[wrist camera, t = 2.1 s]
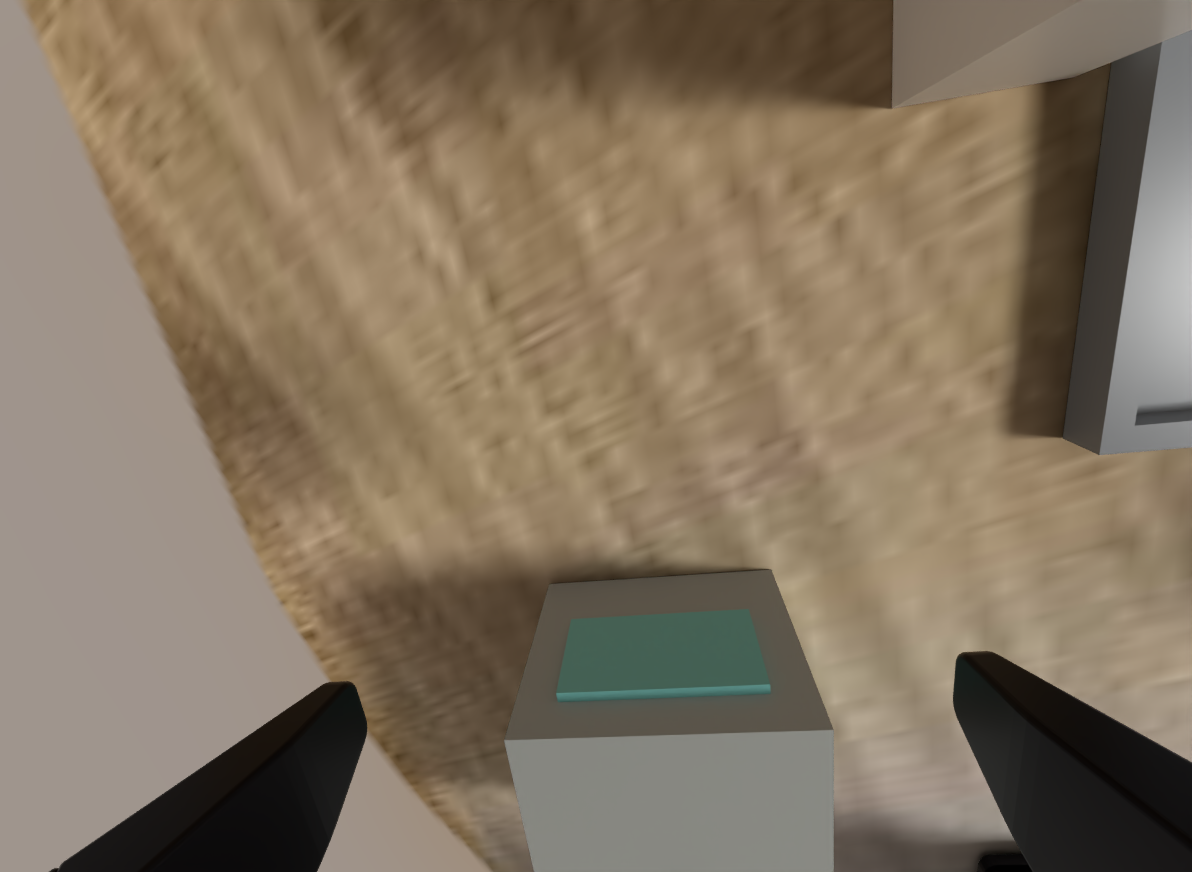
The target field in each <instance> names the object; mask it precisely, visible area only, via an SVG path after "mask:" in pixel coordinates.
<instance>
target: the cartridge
mask: <svg viewBox="0 0 1192 872" xmlns="http://www.w3.org/2000/svg"><path fill="white" fill-rule="evenodd" d="M1190 30H1192V0H893V65H892V108H898V107H904V106H910V105H916V104H921V103H927V102H933V101H939V100H945V99H951V98H956V97H962V96H968V95H974V94H980V93H986V92H991V91H997V90H1003V89H1009V88H1015V87H1021V86H1026V85H1032V84H1038V83H1044V82H1050V81H1056V80H1062V79H1067V78H1073V77H1076V76H1078V75H1081V74H1083V73H1086V72H1088V71H1091V70H1093V69H1096V68H1098V67H1101V66H1103V65H1106V64H1108V63H1111V62H1113V61H1116V60H1118V59H1121V58H1123V57H1126V56H1128V55H1131V54H1133V53H1136V52H1138V51H1141V50H1143V49H1146V48H1148V47H1150V46H1153V45H1155V44H1158V43H1160V42H1163V41H1165V40H1168V39H1170V38H1173V37H1175V36H1178V35H1180V34H1183V33H1185V32H1188V31H1190Z"/></svg>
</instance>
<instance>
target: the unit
mask: <svg viewBox="0 0 1192 872" xmlns="http://www.w3.org/2000/svg"><path fill="white" fill-rule="evenodd" d="M504 742H505V747H506V751H507V756H508V760H509V764H510V769H511V773H512V778H513V782H514V786H515V791H516V795H517V800H518V804H519V808H520V813H521V817H522V822H523V826H524V830H525V835H526V839H527V844H528V848H529V852H530V857H531V861H532V866H533V870H534V872H834V730H833V727H832V725H831V722H830V719H829V717H828V714H827V712H826V709H825V707H824V704H823V701H822V699H821V696H820V694H819V691H818V689H817V686H816V683H815V681H814V678H813V676H812V673H811V671H810V668H809V665H808V663H807V660H806V658H805V655H804V653H803V650H802V647H801V645H800V642H799V640H798V637H797V635H796V632H795V629H794V627H793V624H792V622H791V619H790V617H789V614H788V611H787V609H786V606H785V604H784V601H783V599H782V596H781V593H780V591H779V588H778V586H777V583H776V581H775V578H774V575H773V573H772V570H758V571H742V572H727V573H712V574H696V575H681V576H666V577H650V578H635V579H620V580H604V581H589V582H574V583H558V584H549V587H548V590H547V594H546V597H545V601H544V604H543V608H542V611H541V615H540V618H539V622H538V625H537V628H536V632H535V635H534V639H533V642H532V646H531V649H530V653H529V656H528V659H527V663H526V666H525V670H524V673H523V677H522V680H521V684H520V687H519V690H518V694H517V697H516V701H515V704H514V708H513V711H512V715H511V718H510V721H509V725H508V728H507V732H506V735H505V739H504Z"/></svg>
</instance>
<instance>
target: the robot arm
mask: <svg viewBox="0 0 1192 872" xmlns="http://www.w3.org/2000/svg"><path fill="white" fill-rule="evenodd" d="M953 705H954V710H955V713H956V716H957V719H958V721H959V723H960V725H961V728H962V730H963V732H964V734H965V736H966V738H967V740H968V743H969V745H970V747H971V749H972V751H973V753H974V756H975V758H976V760H977V762H978V764H979V766H980V768H981V771H982V773H983V775H984V777H985V779H986V781H987V784H988V786H989V788H990V790H991V792H992V794H993V796H994V799H995V801H996V803H997V805H998V807H999V809H1000V812H1001V814H1002V816H1003V818H1004V820H1005V822H1006V824H1007V826H1008V828H1009V830H1010V832H1011V834H1012V836H1013V838H1014V840H1015V841H1016V843H1017V845H1018V847H1019V849H1020V850H1021V852H1022V854H1007V855H987V856H985V857H983V858H981V859H980V861H979V863H978V871H977V872H1192V762H1190V761H1188V760H1187V759H1185V758H1183V757H1181V756H1179V755H1178V754H1176V753H1174V752H1172V751H1170V750H1169V749H1167V748H1165V747H1163V746H1161V745H1160V744H1158V743H1156V742H1154V741H1152V740H1151V739H1149V738H1147V737H1145V736H1143V735H1142V734H1140V733H1138V732H1136V731H1134V730H1133V729H1131V728H1129V727H1127V726H1125V725H1124V724H1122V723H1120V722H1118V721H1116V720H1115V719H1113V718H1111V717H1109V716H1107V715H1106V714H1104V713H1102V712H1100V711H1098V710H1097V709H1095V708H1093V707H1091V706H1089V705H1088V704H1086V703H1084V702H1082V701H1080V700H1079V699H1077V698H1075V697H1073V696H1071V695H1070V694H1068V693H1066V692H1064V691H1062V690H1061V689H1059V688H1057V687H1055V686H1053V685H1052V684H1050V683H1048V682H1046V681H1044V680H1043V679H1041V678H1039V677H1037V676H1035V675H1034V674H1032V673H1030V672H1028V671H1026V670H1025V669H1023V668H1021V667H1019V666H1017V665H1016V664H1014V663H1012V662H1010V661H1008V660H1007V659H1005V658H1003V657H1001V656H999V655H998V654H995V653H993V652H990V651H979V652H963V653H961V654H959V655H958V657H957V659H956V666H955V679H954V692H953ZM366 735H367V720H366V717H365V714H364V711H363V708H362V704H361V701H360V698H359V695H358V692H357V689H356V687H355V685H354V684H353V683H352V682H349V681H343V682H328V683H325V684H323V685H322V686H320V687H319V688H317V689H316V690H314V691H313V692H311V693H310V694H309V695H307V696H305V697H304V698H303V699H301V700H300V701H298V702H297V703H295V704H294V705H292V706H291V707H289V708H288V709H286V710H285V711H283V712H282V713H281V714H279V715H278V716H276V717H275V718H273V719H272V720H270V721H269V722H267V723H266V724H264V725H263V726H262V727H260V728H259V729H257V730H256V731H254V732H253V733H251V734H250V735H248V736H247V737H245V738H244V739H243V740H241V741H240V742H238V743H237V744H235V745H234V746H232V747H231V748H229V749H228V750H226V751H225V752H224V753H222V754H221V755H219V756H218V757H216V758H215V759H213V760H212V761H210V762H209V763H207V764H206V765H205V766H203V767H202V768H200V769H199V770H197V771H196V772H194V773H193V774H191V775H190V776H188V777H187V778H186V779H184V780H183V781H181V782H180V783H178V784H177V785H175V786H174V787H172V788H171V789H169V790H168V791H167V792H165V793H164V794H162V795H161V796H159V797H158V798H156V799H155V800H154V801H152V802H151V803H149V804H148V805H146V806H145V807H143V808H142V809H140V810H139V811H137V812H136V813H134V814H133V815H131V816H130V817H129V818H127V819H126V820H124V821H123V822H121V823H120V824H118V825H117V826H115V827H114V828H112V829H111V830H110V831H108V832H107V833H105V834H104V835H102V836H101V837H100V838H98V839H97V840H95V841H94V842H92V843H91V844H89V845H88V846H86V847H85V848H84V849H82V850H80V851H79V852H77V853H76V854H74V855H73V856H71V857H70V858H69V859H67V860H66V861H64V862H63V863H62V864H61V865H60V867H59V868H54V869H52V870H51V871H50V872H317V871H318V868H319V866H320V864H321V862H322V859H323V857H324V854H325V852H326V850H327V847H328V845H329V842H330V840H331V837H332V835H333V832H334V829H335V827H336V824H337V821H338V818H339V815H340V812H341V809H342V807H343V804H344V801H345V798H346V795H347V792H348V789H349V786H350V783H351V780H352V777H353V774H354V772H355V768H356V765H357V763H358V760H359V757H360V754H361V751H362V748H363V745H364V742H365V739H366Z"/></svg>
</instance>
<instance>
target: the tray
mask: <svg viewBox="0 0 1192 872" xmlns="http://www.w3.org/2000/svg"><path fill="white" fill-rule="evenodd" d="M1063 439H1065V440H1067V441H1070V442H1072V443H1074V444H1076V445H1078V446H1081V447H1083V448H1085V449H1087V450H1089V451H1092V452H1094V453H1096V454H1098V455H1105V454H1117V453H1129V452H1141V451H1153V450H1165V449H1177V448H1189V447H1192V30H1190V31H1188V32H1185V33H1183V34H1180V35H1178V36H1175V37H1173V38H1170V39H1168V40H1165V41H1163V42H1160V43H1158V44H1155V45H1153V46H1150V47H1148V48H1146V49H1143V50H1141V51H1138V52H1136V53H1133V54H1131V55H1128V56H1126V57H1123V58H1121V59H1118V60H1116V61H1113V62H1112V63H1111V71H1110V78H1109V86H1108V94H1107V102H1106V109H1105V117H1104V125H1103V132H1102V140H1101V148H1100V155H1099V163H1098V171H1097V179H1096V186H1095V194H1094V202H1093V209H1092V217H1091V225H1090V232H1089V240H1088V248H1087V256H1086V263H1085V271H1084V279H1083V286H1082V294H1081V302H1080V309H1079V317H1078V325H1077V333H1076V340H1075V348H1074V356H1073V363H1072V371H1071V379H1070V386H1069V394H1068V402H1067V410H1066V417H1065V425H1064V433H1063Z"/></svg>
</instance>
